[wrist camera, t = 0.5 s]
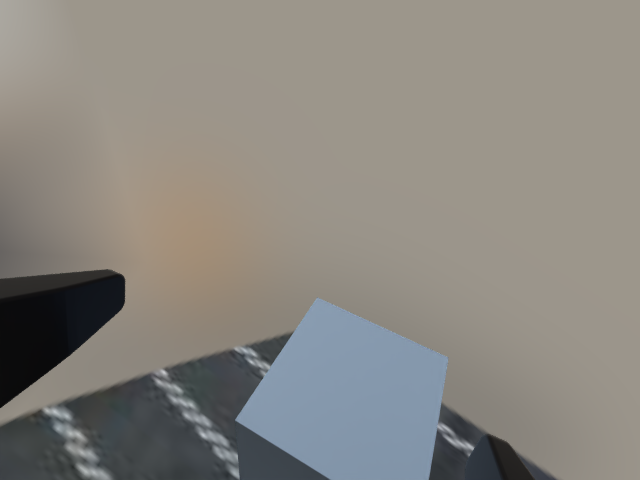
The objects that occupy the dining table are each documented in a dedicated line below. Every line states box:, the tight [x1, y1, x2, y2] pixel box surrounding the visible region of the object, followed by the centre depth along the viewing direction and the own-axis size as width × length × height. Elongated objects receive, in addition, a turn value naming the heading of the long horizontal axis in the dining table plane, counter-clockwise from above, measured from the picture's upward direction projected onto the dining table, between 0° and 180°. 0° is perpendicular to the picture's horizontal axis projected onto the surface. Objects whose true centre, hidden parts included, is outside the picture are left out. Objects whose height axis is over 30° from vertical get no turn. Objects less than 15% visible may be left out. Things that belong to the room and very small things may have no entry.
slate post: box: [235, 298, 448, 480], centre depth 14 cm, size 5×5×13 cm
